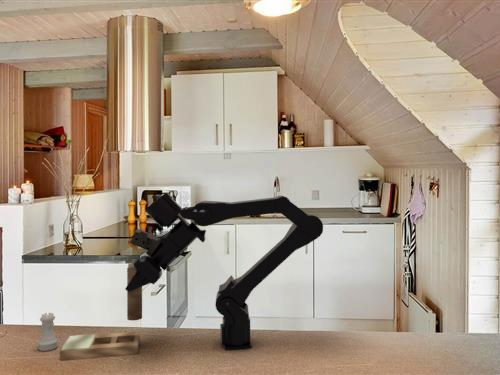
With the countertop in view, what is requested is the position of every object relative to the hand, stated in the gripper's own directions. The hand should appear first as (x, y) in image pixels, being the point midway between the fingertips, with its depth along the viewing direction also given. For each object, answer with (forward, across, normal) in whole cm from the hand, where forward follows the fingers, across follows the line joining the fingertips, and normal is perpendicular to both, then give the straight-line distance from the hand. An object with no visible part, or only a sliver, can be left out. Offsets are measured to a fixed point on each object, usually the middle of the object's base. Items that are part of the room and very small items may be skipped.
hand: (128, 288), depth 101 cm
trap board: (+14, +1, +6) cm, 15 cm away
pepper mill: (+4, 0, +6) cm, 7 cm away
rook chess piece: (+24, 0, -3) cm, 24 cm away
